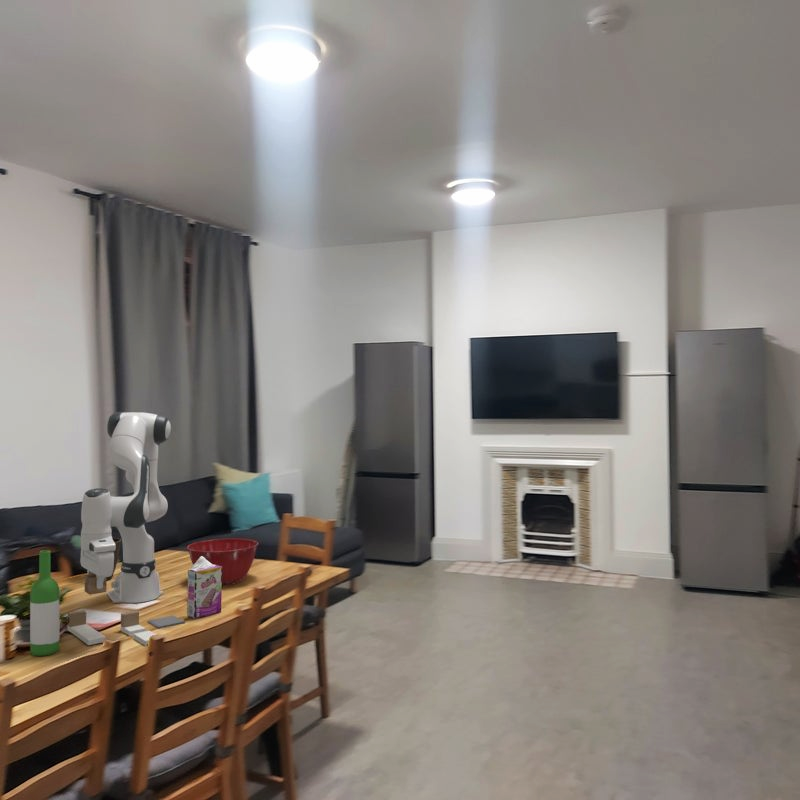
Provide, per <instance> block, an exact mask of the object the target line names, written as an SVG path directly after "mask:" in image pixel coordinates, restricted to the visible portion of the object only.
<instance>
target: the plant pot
mask: <svg viewBox="0 0 800 800" xmlns="http://www.w3.org/2000/svg"><path fill="white" fill-rule="evenodd" d="M112 539H113V541H114V543H115V544H116V550H114V551H113V552H114V567H113V573H112V576H109V577H107V581H110V580H112V578H113V577H114V574H115V570H116V567H117V564H118V561H119V556H120V552H121V551H120V549H121V544H122V538H117V537H112Z"/></svg>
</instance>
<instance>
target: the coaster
mask: <svg viewBox="0 0 800 800" xmlns="http://www.w3.org/2000/svg"><path fill="white" fill-rule="evenodd" d="M147 623H148V624H150V625H151V624H152V626H153V627H155V628H157V629H164V628H169V627H173V626H176V625H177V626H178V625H181V624H185V623H186V621H185V620H183V619H181V618H180V617H178V616H176V615H167V616H163V617H159V618H154V619H149V620H147Z"/></svg>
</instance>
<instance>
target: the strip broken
mask: <svg viewBox="0 0 800 800" xmlns="http://www.w3.org/2000/svg"><path fill="white" fill-rule="evenodd" d="M120 631H121V632H123V633H124V634H125V635H128V636H129V637H132V636H133V639H134V640H135V641H137V642H139V644H142V645H143V646H145V647H147V646H148V645H147V644H148V640H149V638H150V636H152V635H157V633H155V632H153V631H151V630H146V628H145V627H144V626H142V625H140V612H139V611H137V610H131V611H127V612H122V613H120ZM146 645H147V646H146Z"/></svg>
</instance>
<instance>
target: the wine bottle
mask: <svg viewBox="0 0 800 800" xmlns="http://www.w3.org/2000/svg"><path fill="white" fill-rule="evenodd" d="M38 553H39V555H38V556H39V559H38V560H39V561H38V563H39V564H38V569H39V571H38V572H39V573H38V576H39V577H38V579H37V580H36V581H35V582H34V583H33V584H32V586H31V588H30V593H29V594H30V595H29V596H30V603H29V604H30V605H29V606H30V607H29V610H30V611H29V613H30V615H29V618H30V619H29V623H30V624H29V625H30V626H29V629H30V630H29V637H30V638H29V639H30V641H29V644H30V647H29V648H30V649H29V650H30V653H31V654H32V656H35V657H43V656H44V657H45V656H49V655H52V654H55V653H56V652H58V650H59V649H60V585H59V584H58V582H57V581H56V580H55V579H54V578H52V575H51V574H52V573H51V550H49V549H46V550H45V549H44V550H40V551H39V552H38Z"/></svg>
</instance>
